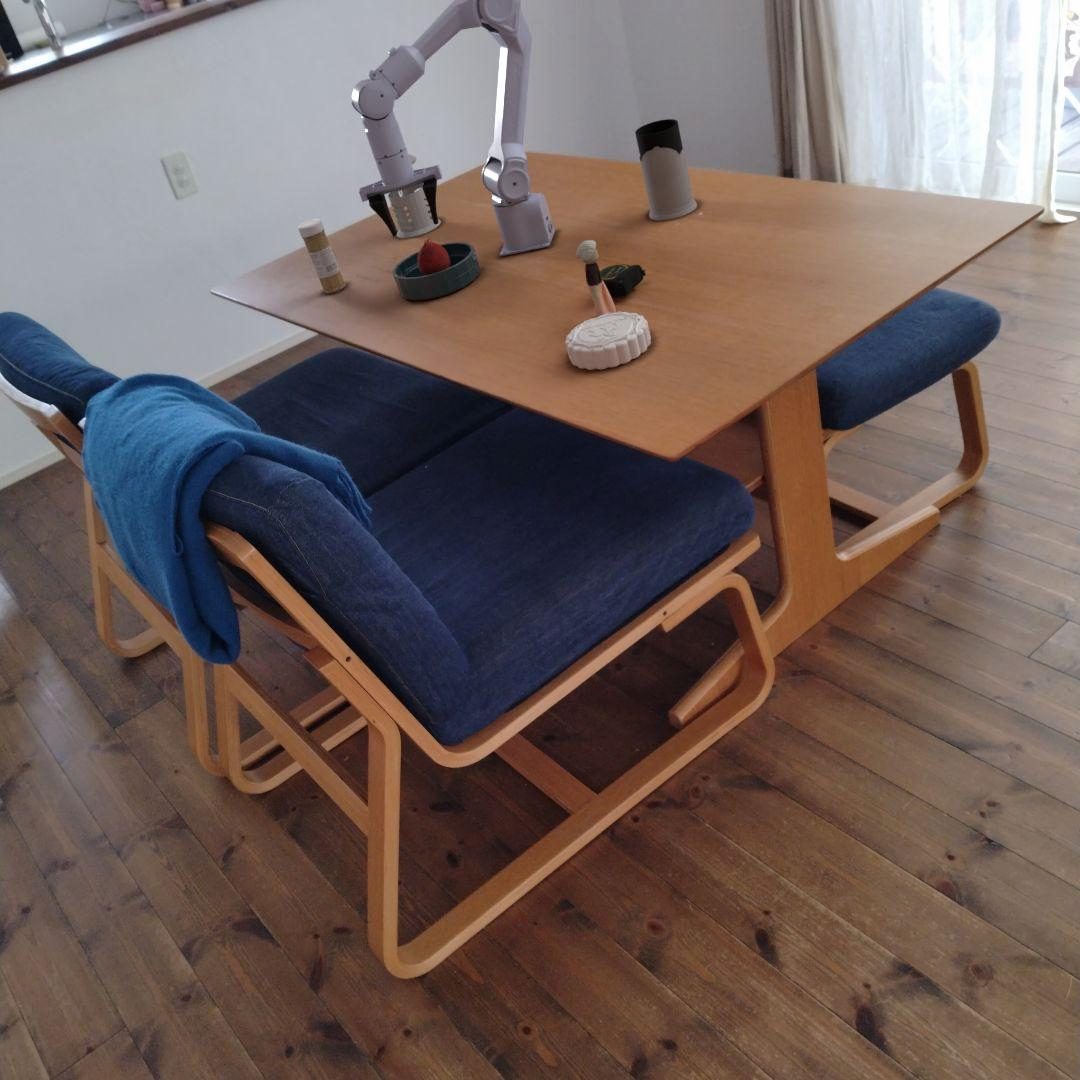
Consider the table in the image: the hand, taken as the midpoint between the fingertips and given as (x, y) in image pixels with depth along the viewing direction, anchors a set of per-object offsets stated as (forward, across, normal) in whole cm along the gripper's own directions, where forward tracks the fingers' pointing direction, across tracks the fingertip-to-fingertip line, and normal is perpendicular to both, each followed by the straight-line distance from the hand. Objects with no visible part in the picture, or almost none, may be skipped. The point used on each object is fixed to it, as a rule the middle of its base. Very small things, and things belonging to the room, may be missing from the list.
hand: (415, 228), depth 196 cm
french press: (+10, +4, -35) cm, 37 cm away
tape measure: (+10, -32, +29) cm, 45 cm away
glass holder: (+10, -46, -4) cm, 47 cm away
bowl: (+10, -1, +2) cm, 10 cm away
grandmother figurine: (+10, -28, +38) cm, 48 cm away
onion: (+10, -1, +2) cm, 10 cm away
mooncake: (+10, -27, +49) cm, 57 cm away
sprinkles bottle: (+10, +20, -11) cm, 25 cm away
